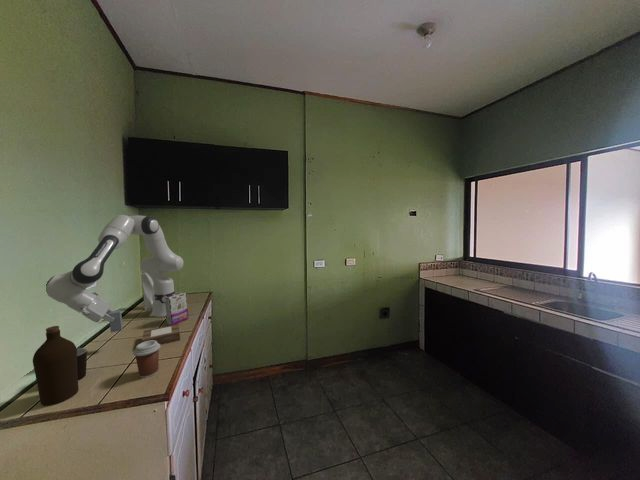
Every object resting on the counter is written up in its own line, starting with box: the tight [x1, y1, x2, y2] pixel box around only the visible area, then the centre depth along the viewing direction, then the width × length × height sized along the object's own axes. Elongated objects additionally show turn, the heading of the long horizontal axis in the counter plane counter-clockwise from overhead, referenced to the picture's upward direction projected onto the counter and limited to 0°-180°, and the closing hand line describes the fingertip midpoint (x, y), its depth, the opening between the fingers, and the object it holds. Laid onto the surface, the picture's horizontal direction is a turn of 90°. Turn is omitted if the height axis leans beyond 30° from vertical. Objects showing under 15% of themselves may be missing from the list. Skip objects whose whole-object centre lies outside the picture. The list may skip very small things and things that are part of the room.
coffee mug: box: [77, 347, 88, 381], centre depth 100 cm, size 12×9×10 cm
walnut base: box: [141, 323, 181, 346], centre depth 132 cm, size 14×16×4 cm
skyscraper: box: [140, 269, 155, 311], centre depth 183 cm, size 8×8×28 cm
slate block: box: [109, 309, 124, 333], centre depth 122 cm, size 4×4×9 cm
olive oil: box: [32, 325, 80, 407], centre depth 89 cm, size 11×11×25 cm
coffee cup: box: [132, 340, 161, 379], centre depth 102 cm, size 9×9×12 cm
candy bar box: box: [165, 292, 189, 326], centre depth 156 cm, size 11×5×16 cm, turn 155°
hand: (114, 318), depth 122 cm, fingers closed on slate block, 4 cm apart
